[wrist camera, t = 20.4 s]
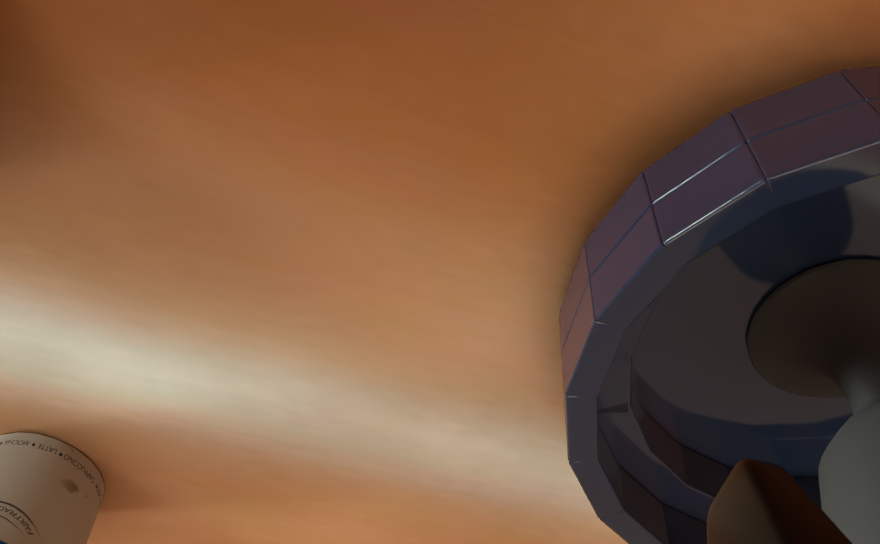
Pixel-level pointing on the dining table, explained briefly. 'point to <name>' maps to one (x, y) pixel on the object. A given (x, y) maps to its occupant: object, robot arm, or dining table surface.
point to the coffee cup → (46, 491)
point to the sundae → (832, 376)
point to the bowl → (712, 305)
